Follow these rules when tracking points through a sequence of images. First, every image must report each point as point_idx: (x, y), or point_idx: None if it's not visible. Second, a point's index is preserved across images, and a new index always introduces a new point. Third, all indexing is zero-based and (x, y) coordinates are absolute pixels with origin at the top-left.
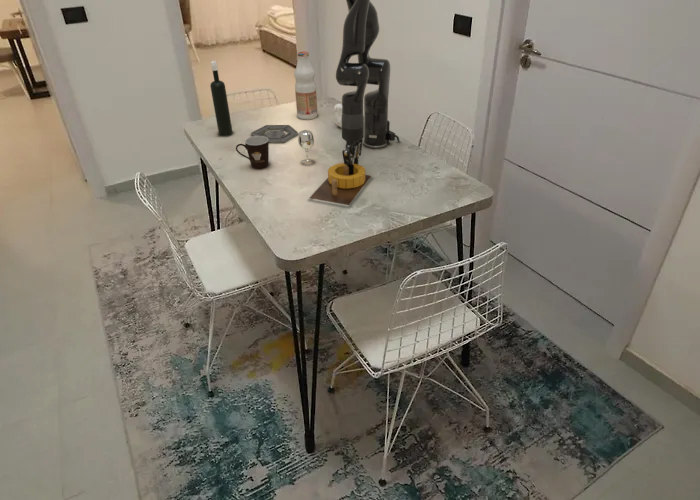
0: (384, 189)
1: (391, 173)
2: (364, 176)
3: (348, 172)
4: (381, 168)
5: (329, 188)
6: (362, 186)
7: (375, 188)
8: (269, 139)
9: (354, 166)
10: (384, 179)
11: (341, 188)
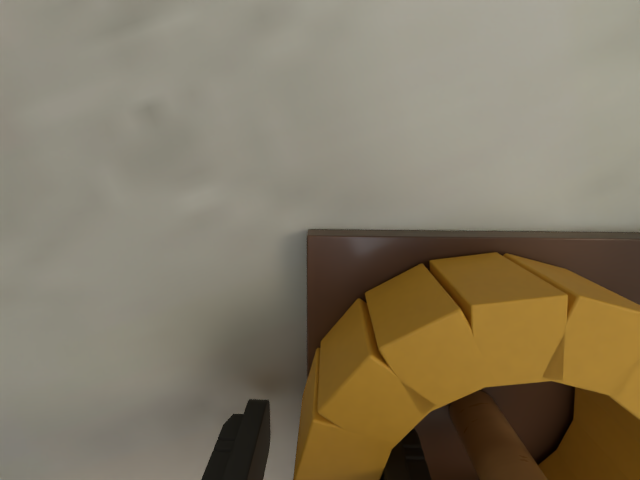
0: (504, 20)
1: (125, 64)
2: (512, 278)
3: (530, 468)
4: (71, 204)
5: None
6: (556, 245)
7: (501, 123)
8: None
9: (377, 462)
10: (286, 95)
11: None
